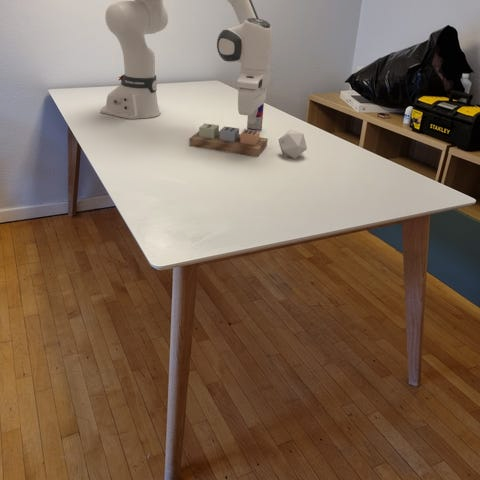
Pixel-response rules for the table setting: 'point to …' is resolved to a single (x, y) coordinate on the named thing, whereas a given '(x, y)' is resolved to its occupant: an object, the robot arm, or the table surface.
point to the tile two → (229, 134)
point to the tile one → (209, 131)
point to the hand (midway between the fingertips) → (251, 122)
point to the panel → (228, 145)
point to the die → (292, 144)
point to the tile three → (250, 137)
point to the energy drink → (257, 120)
